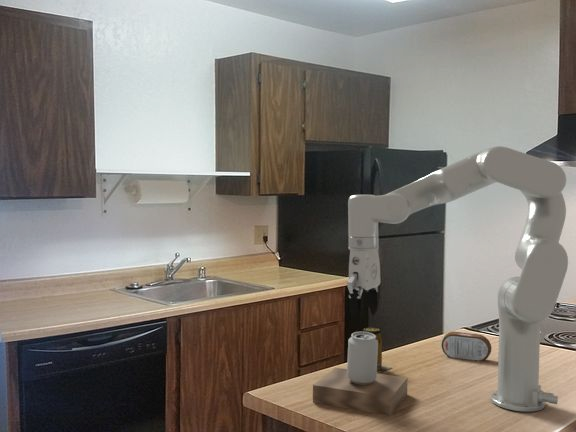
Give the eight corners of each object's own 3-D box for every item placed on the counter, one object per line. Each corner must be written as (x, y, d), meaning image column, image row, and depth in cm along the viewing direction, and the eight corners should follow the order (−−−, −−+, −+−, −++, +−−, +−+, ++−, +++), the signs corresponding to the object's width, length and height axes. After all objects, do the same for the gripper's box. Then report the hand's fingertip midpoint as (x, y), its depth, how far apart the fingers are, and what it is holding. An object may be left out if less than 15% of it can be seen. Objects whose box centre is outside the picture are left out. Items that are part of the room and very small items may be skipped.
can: (358, 371, 158) (361, 328, 157) (382, 380, 153) (384, 335, 152) (340, 379, 153) (342, 334, 152) (363, 388, 148) (366, 342, 146)
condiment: (354, 369, 178) (355, 329, 178) (372, 363, 184) (373, 324, 183) (374, 374, 173) (374, 333, 172) (392, 368, 179) (392, 328, 178)
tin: (491, 361, 187) (491, 334, 186) (490, 364, 184) (490, 337, 183) (442, 355, 193) (442, 329, 193) (440, 358, 190) (440, 331, 190)
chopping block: (407, 396, 157) (407, 377, 156) (390, 417, 142) (391, 397, 142) (335, 385, 165) (335, 367, 165) (312, 404, 150) (312, 384, 150)
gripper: (363, 247, 142) (364, 318, 143) (390, 241, 157) (390, 305, 158) (334, 246, 146) (335, 315, 147) (363, 240, 161) (364, 303, 162)
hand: (364, 310), depth 152 cm, fingers open, 9 cm apart
